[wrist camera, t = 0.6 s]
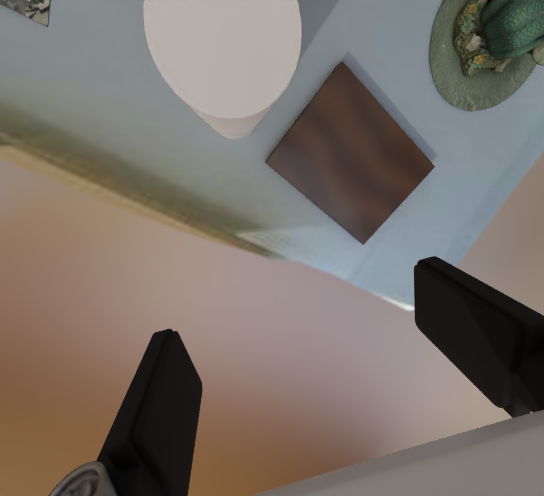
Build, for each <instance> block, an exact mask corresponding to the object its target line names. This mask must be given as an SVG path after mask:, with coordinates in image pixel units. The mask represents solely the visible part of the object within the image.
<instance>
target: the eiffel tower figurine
mask: <svg viewBox="0 0 544 496" xmlns="http://www.w3.org/2000/svg"><path fill="white" fill-rule="evenodd" d="M0 3H1V4H3V5H5V6H7V7H9V8H11V9H13V10H15V11H17V12H19V13H21V14H23V15H25V16H27V17H29V18H31V19H33V20H35V21H37V22H39V23H41V24H43V25H45V26H47V27H48V14H49V0H0Z"/></svg>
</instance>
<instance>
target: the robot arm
mask: <svg viewBox="0 0 544 496" xmlns="http://www.w3.org/2000/svg"><path fill="white" fill-rule="evenodd" d="M414 297H415V323H416V325H417V327H418V328H419V330H420V331H421V332H422V333H423V334H424V335H425V336H426V337H427V338H428V339H429V340H430V341H431V342H432V343H433V344H434V345H435V346H436V347H437V348H438V349H439V350H440V351H441V352H442V353H443V354H444V355H445V356H446V357H447V358H448V359H449V360H450V361H451V362H452V363H453V364H454V365H455V366H456V367H457V368H458V369H459V370H460V371H461V372H462V373H463V374H464V375H465V376H466V377H467V378H468V379H469V380H470V381H471V382H472V383H473V384H474V385H475V386H476V387H477V388H478V389H479V390H480V391H481V392H482V393H483V394H484V395H485V396H486V397H487V398H488V399H489V400H490V401H491V402H492V403H493V404H494V405H495V406H497V407H499V408H503V409H504V410H505V411H506V412H507V413H508V414H509V415H510V416H511V417H512V418H511V419H508V420H505V421H501V422H498V423H495V424H491V425H487V426H484V427H480V428H477V429H474V430H470V431H467V432H463V433H460V434H456V435H453V436H449V437H446V438H442V439H439V440H436V441H432V442H429V443H426V444H422V445H419V446H415V447H412V448H408V449H405V450H402V451H398V452H395V453H392V454H388V455H385V456H382V457H378V458H375V459H371V460H368V461H365V462H361V463H358V464H355V465H351V466H348V467H345V468H341V469H338V470H334V471H331V472H328V473H324V474H321V475H318V476H314V477H311V478H308V479H304V480H301V481H298V482H295V483H291V484H288V485H285V486H281V487H278V488H275V489H272V490H268V491H265V492H262V493H258V494H255V495H252V496H544V316H543V315H541V314H540V313H538V312H536V311H534V310H532V309H530V308H528V307H527V306H525V305H523V304H521V303H520V302H518V301H516V300H514V299H512V298H511V297H509V296H507V295H505V294H503V293H501V292H500V291H498V290H496V289H494V288H492V287H491V286H489V285H487V284H485V283H483V282H482V281H480V280H478V279H476V278H474V277H472V276H471V275H468V274H467V273H465V272H463V271H461V270H460V269H458V268H456V267H454V266H453V265H451V264H449V263H447V262H445V261H443V260H442V259H440V258H438V257H435V256H433V257H429V258H426V259H422V260H419V261H418V263H417V265H415V267H414ZM201 397H202V382H201V379H200V377H199V375H198V373H197V371H196V369H195V367H194V365H193V363H192V361H191V358H190V356H189V354H188V352H187V350H186V348H185V346H184V344H183V342H182V340H181V338H180V335H179V333H178V332H177V331H174V332H173V330H172V329H166V330H163V331H159V332H155V333H154V334H153V336H152V338H151V340H150V342H149V345H148V347H147V349H146V351H145V353H144V356H143V358H142V360H141V363H140V365H139V367H138V369H137V372H136V374H135V376H134V378H133V380H132V382H131V385H130V387H129V389H128V391H127V393H126V396H125V398H124V400H123V402H122V405H121V407H120V409H119V412H118V414H117V416H116V418H115V420H114V423H113V425H112V427H111V429H110V432H109V434H108V436H107V438H106V440H105V443H104V445H103V447H102V449H101V452H100V454H99V456H98V458H97V461H92V462H87V463H85V464H83V465H81V466H79V467H77V468H76V469H74V470H73V471H72V472H70V473H69V474H67V475H66V476H65V477H64V478H63V479H62V480H61V481H60V482H59V483H58V484H57V485H56V487H55V488H54V489H53V490H52V491H51V493H50V494H49V495H48V496H187V495H188V489H189V482H190V475H191V468H192V461H193V453H194V447H195V439H196V432H197V425H198V418H199V411H200V404H201ZM531 411H532V412H533V413H530V412H531ZM529 413H530V414H529Z"/></svg>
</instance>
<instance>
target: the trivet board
mask: <svg viewBox="0 0 544 496" xmlns="http://www.w3.org/2000/svg"><path fill="white" fill-rule="evenodd" d="M265 163H266V164H268V165H269V166H270V167H271V168H272V169H274V170H275V171H276V172H277V173H278V174H279V175H281V176H282V177H283V178H284V179H285V180H287V181H288V182H289V183H290V184H291V185H293V186H294V187H295V188H296V189H297V190H298V191H300V192H301V193H302V194H303V195H304V196H306V197H307V198H308V199H309V200H310V201H311V202H313V203H314V204H315V205H316V206H317V207H319V208H320V209H321V210H322V211H323V212H325V213H326V214H327V215H328V216H329V217H330V218H332V219H333V220H334V221H335V222H336V223H338V224H339V225H340V226H341V227H342V228H343V229H345V230H346V231H347V232H348V233H349V234H351V235H352V236H353V237H354V238H355V239H357V240H358V241H359V242H360V243H362V244H363V245H364V244H365V243H366V241H367V240H368V239H369V238H370V237H371V236H372V235H373V234H374V233H375V232H376V231H377V229H378V228H379V227H380V226H381V225H382V224H383V223H384V222H385V221H386V220H387V219H388V217H389V216H390V215H391V214H392V213H393V212H394V211H395V210H396V209H397V208H398V207H399V205H400V204H401V203H402V202H403V201H404V200H405V199H406V198H407V197H408V196H409V195H410V193H411V192H412V191H413V190H414V189H415V188H416V187H417V186H418V185H419V184H420V183H421V181H422V180H423V179H424V178H425V177H426V176H427V175H428V174H429V173H430V172H431V171H432V169H433V168H434V167H435V166H434V165H433V164H432V163H431V162H430V161H429V159H428V158H427V157H426V156H425V155H424V154H423V153H422V152H421V150H420V149H419V148H418V147H417V146H416V145H415V144H414V142H413V141H412V140H411V139H410V138H409V137H408V136H407V134H406V133H405V132H404V131H403V130H402V129H401V128H400V126H399V125H398V124H397V123H396V122H395V121H394V120H393V118H392V117H391V116H390V115H389V114H388V113H387V112H386V110H385V109H384V108H383V107H382V106H381V105H380V104H379V103H378V101H377V100H376V99H375V98H374V97H373V96H372V95H371V93H370V92H369V91H368V90H367V89H366V88H365V87H364V85H363V84H362V83H361V82H360V81H359V80H358V79H357V77H356V76H355V75H354V74H353V73H352V72H351V71H350V69H349V68H348V67H347V66H346V65H345V64H344V63H343V62H341V63H340V64H338V66H337V67H336V68H335V70H334V71H333V72H332V73H331V75H330V76H329V77H328V79H327V80H326V81H325V83H324V84H323V85H322V87H321V88H320V89H319V91H318V92H317V93H316V95H315V96H314V97H313V99H312V100H311V101H310V103H309V104H308V105H307V107H306V108H305V109H304V111H303V112H302V113H301V115H300V116H299V117H298V119H297V120H296V121H295V123H294V124H293V125H292V127H291V128H290V129H289V131H288V132H287V133H286V135H285V136H284V137H283V139H282V140H281V141H280V143H279V144H278V145H277V147H276V148H275V149H274V151H273V152H272V153H271V155H270V156H269V157H268V159H267V160H266V161H265Z"/></svg>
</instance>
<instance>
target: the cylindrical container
mask: <svg viewBox="0 0 544 496" xmlns="http://www.w3.org/2000/svg"><path fill="white" fill-rule="evenodd" d="M143 12H144V28H145V33H146V38H147V42H148V46H149V49H150V52H151V54H152V57H153V60H154V62H155V64H156V66H157V68H158V69H159V71H160V73H161V75H162V77H163V78H164V80H165V81H166V82H167V83H168V85H169V86H170V87H171V88H172V90H173V91H174V92H175V93H176V94H177V95H178V96H179V97H180V98H181V99H182V100H183V101H184V102H185V103H186V104H187V105H189V106H190V107H191V108H192V109H193V110H194V111H195V112H196V113H197V114H198V115H199V116H200V117H201V118H202V119H203V120H205V121H206V122H207V123H208V124H209V125H210V126H211V127H212V128H213V129H214V130H215V131H216V132H218V133H219V134H220V135H222V136H224V137H226V138H229V139H240V138H244V137H245V136H247V135H249V134H250V133H251V132H252V131H253V130H254V128H255V127H256V126H257V125H258V123H259V122H260V121H261V120H262V118H263V117H264V116H265V114H266V113H267V112H268V111H269V109H270V108H271V107H272V106H273V104H274V103H275V102H276V100H277V99H278V98H279V96H280V95H281V94H282V92H283V91H284V90H285V88H286V87H287V86H288V84H289V82H290V80H291V78H292V76H293V74H294V72H295V69H296V66H297V62H298V59H299V55H300V48H301V39H302V32H301V17H300V12H299V6H298V1H297V0H144V7H143Z"/></svg>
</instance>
